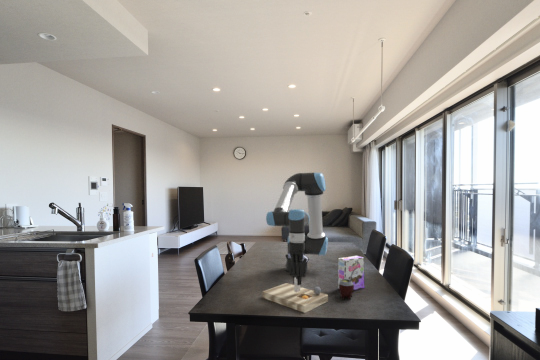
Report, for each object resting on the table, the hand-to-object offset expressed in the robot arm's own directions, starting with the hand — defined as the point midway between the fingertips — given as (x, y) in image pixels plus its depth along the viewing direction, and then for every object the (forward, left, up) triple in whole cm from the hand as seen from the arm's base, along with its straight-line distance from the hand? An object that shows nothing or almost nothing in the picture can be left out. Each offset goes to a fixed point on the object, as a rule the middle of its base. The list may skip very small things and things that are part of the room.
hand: (297, 291), depth 138 cm
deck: (-2, 0, -4) cm, 5 cm away
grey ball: (+7, +6, 0) cm, 10 cm away
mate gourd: (+15, +20, -5) cm, 26 cm away
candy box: (+10, +33, -5) cm, 35 cm away
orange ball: (+5, 0, -3) cm, 6 cm away
